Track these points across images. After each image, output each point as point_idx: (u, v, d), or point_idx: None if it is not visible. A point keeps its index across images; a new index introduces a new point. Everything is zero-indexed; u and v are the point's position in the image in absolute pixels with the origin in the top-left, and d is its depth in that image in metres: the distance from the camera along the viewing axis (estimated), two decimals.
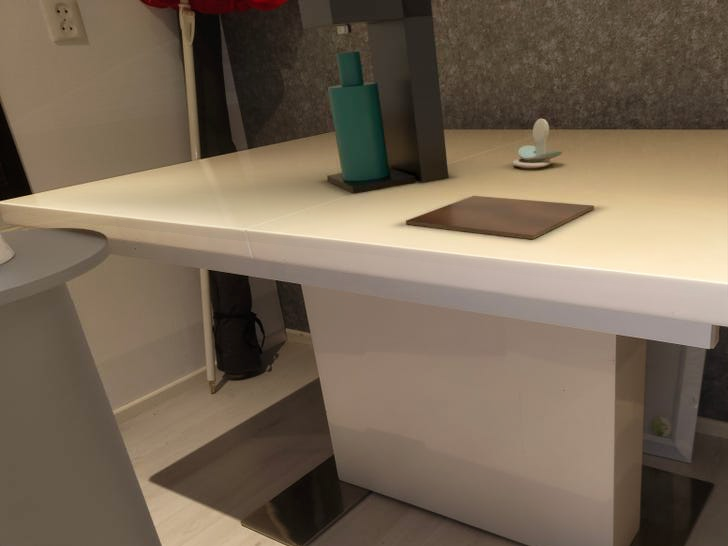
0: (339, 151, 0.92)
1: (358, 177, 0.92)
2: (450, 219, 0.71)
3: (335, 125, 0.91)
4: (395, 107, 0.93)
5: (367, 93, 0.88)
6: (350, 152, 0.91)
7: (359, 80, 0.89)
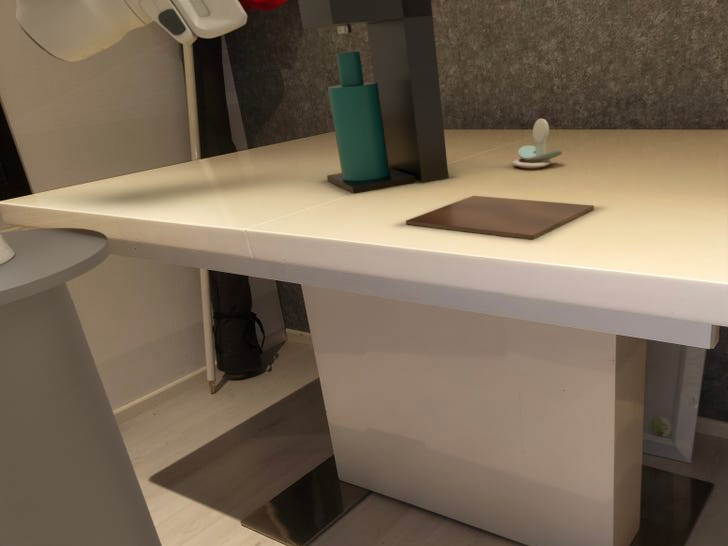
0: (339, 151, 0.92)
1: (358, 177, 0.92)
2: (450, 219, 0.71)
3: (335, 125, 0.91)
4: (395, 107, 0.93)
5: (367, 93, 0.88)
6: (350, 152, 0.91)
7: (359, 80, 0.89)
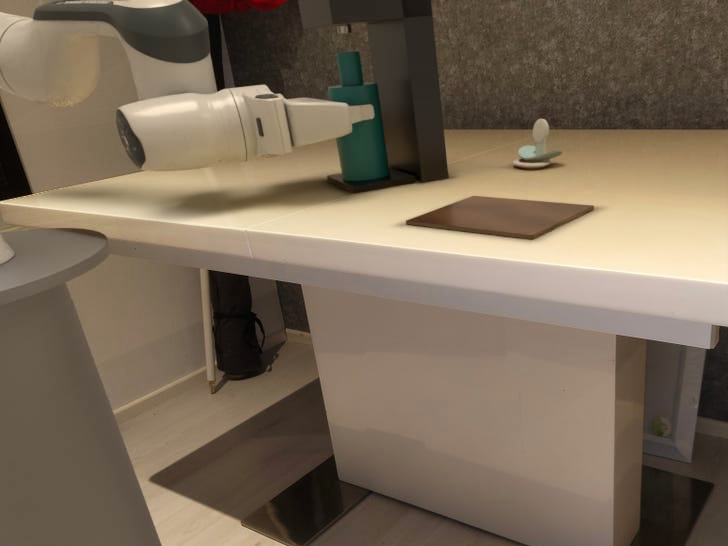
0: (339, 151, 0.92)
1: (358, 177, 0.92)
2: (450, 219, 0.71)
3: None
4: (395, 107, 0.93)
5: (366, 92, 0.88)
6: (349, 152, 0.91)
7: (359, 80, 0.89)
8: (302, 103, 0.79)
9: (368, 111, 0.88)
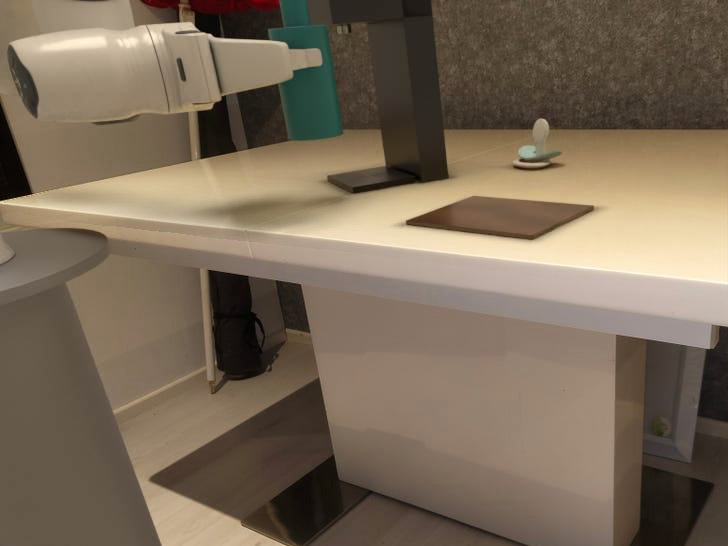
0: (283, 105, 0.79)
1: (305, 135, 0.79)
2: (450, 219, 0.71)
3: None
4: (395, 107, 0.93)
5: (313, 35, 0.75)
6: (294, 106, 0.78)
7: (305, 21, 0.76)
8: (230, 40, 0.67)
9: (315, 56, 0.75)
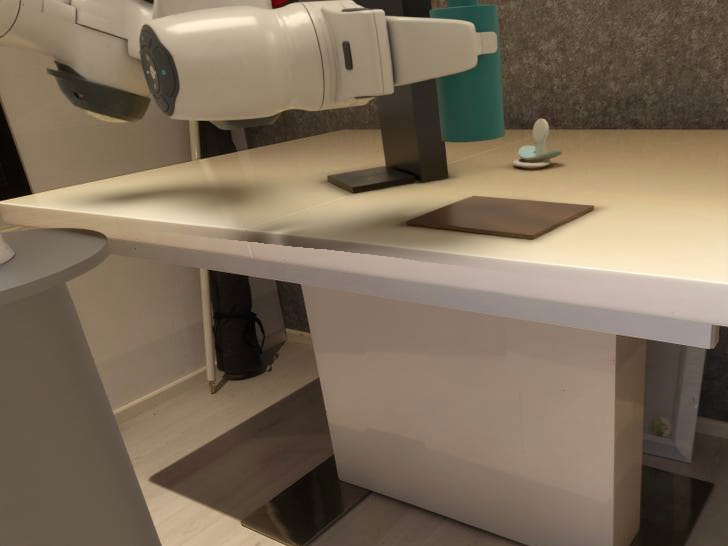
0: (441, 101, 0.67)
1: (468, 136, 0.67)
2: (450, 219, 0.71)
3: None
4: (395, 107, 0.93)
5: (487, 16, 0.63)
6: (458, 102, 0.66)
7: (474, 0, 0.64)
8: (413, 18, 0.54)
9: (490, 41, 0.63)
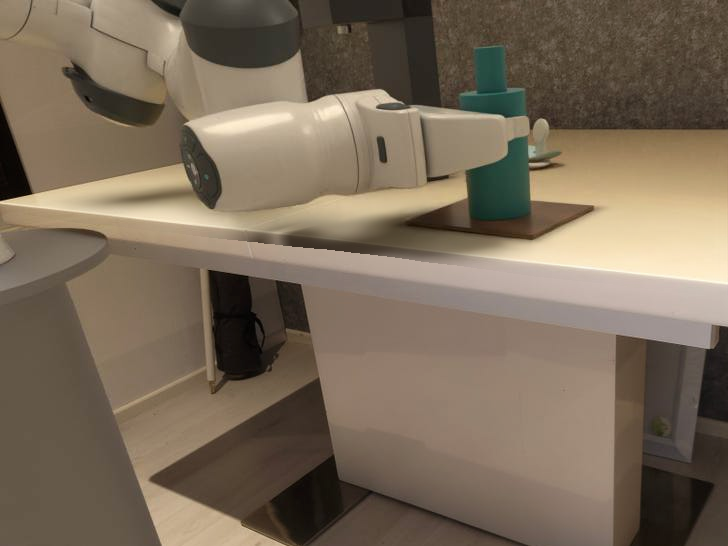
0: (469, 180, 0.69)
1: (495, 215, 0.69)
2: (450, 219, 0.71)
3: None
4: None
5: (515, 102, 0.65)
6: (486, 182, 0.67)
7: (503, 85, 0.65)
8: (446, 116, 0.56)
9: (522, 126, 0.63)
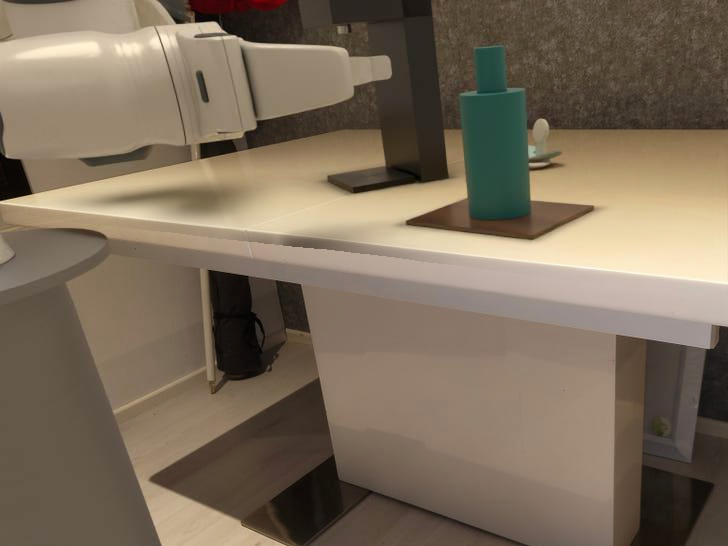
0: (469, 180, 0.69)
1: (495, 215, 0.69)
2: (450, 219, 0.71)
3: (467, 146, 0.67)
4: (395, 107, 0.93)
5: (515, 102, 0.65)
6: (486, 182, 0.67)
7: (503, 85, 0.65)
8: (271, 45, 0.48)
9: (382, 66, 0.55)
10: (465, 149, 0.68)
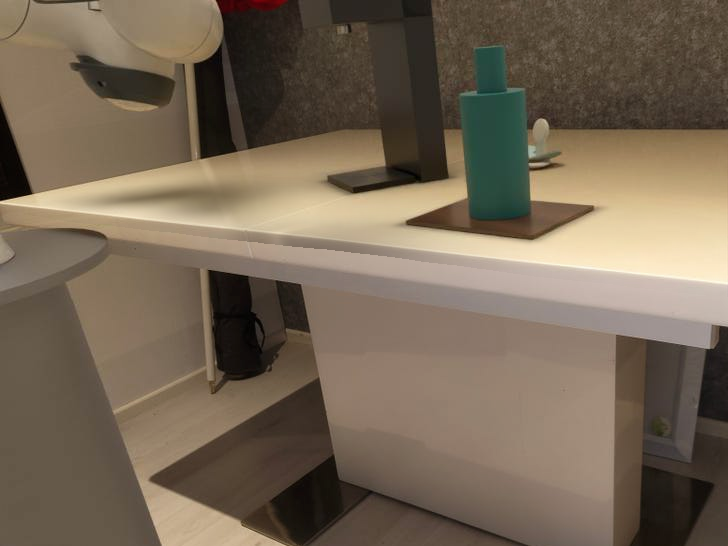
0: (469, 180, 0.69)
1: (495, 215, 0.69)
2: (450, 219, 0.71)
3: (467, 146, 0.67)
4: (395, 107, 0.93)
5: (515, 102, 0.65)
6: (486, 182, 0.67)
7: (503, 85, 0.65)
8: None
9: None
10: (465, 149, 0.68)
